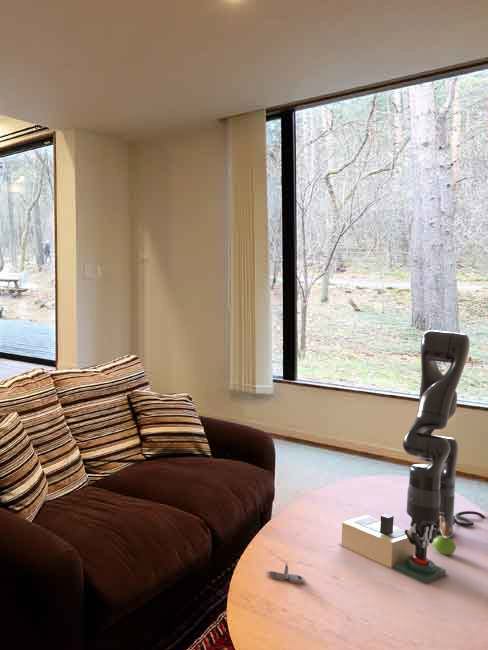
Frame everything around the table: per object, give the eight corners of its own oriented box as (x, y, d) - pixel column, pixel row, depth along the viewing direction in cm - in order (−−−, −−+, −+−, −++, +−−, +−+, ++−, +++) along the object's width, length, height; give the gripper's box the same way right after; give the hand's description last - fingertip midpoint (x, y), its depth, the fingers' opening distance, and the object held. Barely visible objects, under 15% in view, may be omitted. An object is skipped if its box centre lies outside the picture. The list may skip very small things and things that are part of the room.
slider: (386, 530, 168) (386, 513, 167) (392, 533, 166) (393, 516, 166) (379, 532, 167) (380, 515, 166) (386, 535, 165) (387, 518, 164)
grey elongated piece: (302, 579, 157) (303, 565, 157) (303, 584, 154) (304, 570, 154) (269, 572, 161) (270, 559, 160) (270, 577, 158) (270, 564, 158)
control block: (414, 562, 165) (415, 551, 165) (445, 575, 158) (446, 563, 157) (394, 569, 161) (395, 558, 161) (425, 583, 154) (425, 571, 153)
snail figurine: (450, 549, 172) (452, 513, 171) (457, 559, 166) (460, 521, 165) (429, 546, 174) (431, 510, 173) (435, 555, 168) (437, 518, 167)
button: (417, 559, 161) (417, 553, 161) (430, 564, 158) (431, 559, 158) (409, 561, 160) (410, 556, 160) (423, 567, 157) (423, 562, 157)
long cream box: (364, 537, 180) (365, 514, 180) (415, 559, 167) (416, 534, 166) (341, 545, 176) (342, 521, 175) (391, 568, 162) (392, 542, 161)
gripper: (424, 510, 151) (421, 569, 153) (451, 501, 157) (448, 558, 158) (395, 500, 158) (392, 556, 160) (422, 492, 163) (419, 547, 165)
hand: (420, 557), depth 159 cm, fingers closed
